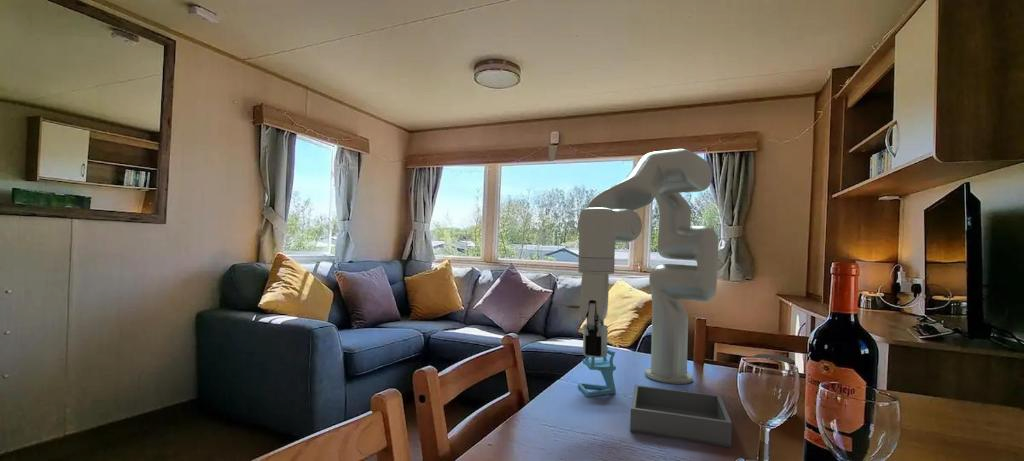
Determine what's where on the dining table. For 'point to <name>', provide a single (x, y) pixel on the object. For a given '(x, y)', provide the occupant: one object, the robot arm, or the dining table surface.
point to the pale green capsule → (603, 341)
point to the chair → (607, 372)
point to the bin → (680, 415)
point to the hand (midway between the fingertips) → (595, 351)
